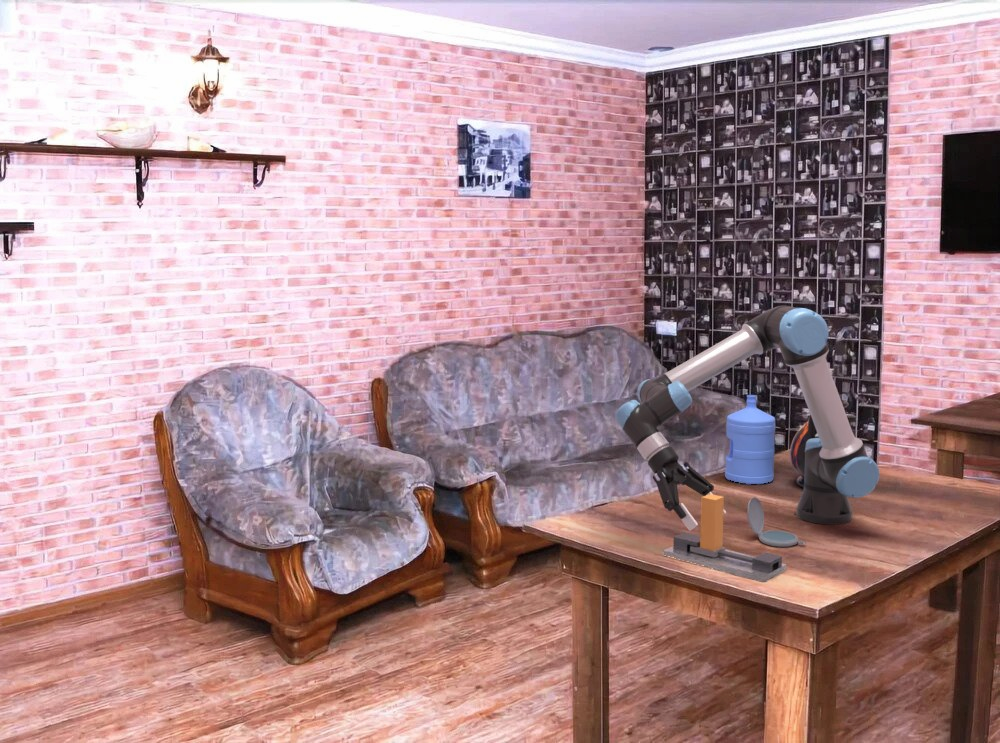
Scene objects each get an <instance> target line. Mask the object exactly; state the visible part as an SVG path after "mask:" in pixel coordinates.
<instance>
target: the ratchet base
mask: <svg viewBox="0 0 1000 743" xmlns="http://www.w3.org/2000/svg"><path fill="white" fill-rule="evenodd" d="M672 543H673V544H672V545H673V546H670V547H667V548H665V549H664V550H663V554H662V555H666V556H670V557H674V558H676V559H675V560H677V559H680V560H679V561H681V560H684V561H683V562H685V561H689V562H692V563H696V564H699V565H698V566H700V565H704V566H707V567H706V568H708V567H710V568H709V569H711V568H713V569H712V570H715V569H716V570H715V571H719V570H720V572H723V571H724V573H726V574H727V573H728V574H731V575H735V576H739V577H742V578H747V579H751V580H754V581H759V582H762V583H765V582H767V581H769V580H770V579H772V578H774V577H776V576H778V575H780V574H781V573H784V572H786V571H787V564H786V563H783V556H781V555H778V554H773V553H770V552H769V553H768V552H766V551H765V552H763V553H761V554H759V555H757V556H753V555H749V554H745V553H741V552H737V551H734V550H729V549H725V551H728V552H732V553H736V554H740V555H744V556H748V557H752V558H753V559H752V563H750V562H746V561H742V560H738V559H734V558H730V557H726V556H722V555H719V556H717V557H711V556H707V555H703V554H699V553H695V552H691V551H690V546H692V545H693V546H697V547H698V546H700V535H696V534H693V533H689V532H688V533H687V532H682V533H680V534H677V535H675V536H673V542H672ZM692 563H691V564H692ZM696 564H695V565H696ZM704 566H703V567H704Z"/></svg>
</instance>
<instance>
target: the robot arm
mask: <svg viewBox="0 0 1000 743" xmlns="http://www.w3.org/2000/svg"><path fill="white" fill-rule="evenodd" d="M829 334H830V333H829V327H828V324H827V322H826V320H825V319H824V318H823V316H821V315H820V314H819V313H817V312H816V311H813V310H811V309H808V308H805V307H804V308H803V307H794V306H791V305H778V306H775V307H772V308H770V309H768V310H766V311H764V312H762V313H760V314H759V315H757V316H755V317H753V318H752V319H751V320H749V321H747V322H745V323H743V324H742V326H741V329H740V330H739V331H737V332H734V333H733V334H732V335H730V336H728V337H726V338H724V339H723V340H721V341H719V342H718V343H716V344H714V345H712V346H711V347H709V348H707V349H705V350H703V351H702V352H700V353H698V354H697V355H695V356H693V357H691V358H690V359H688V360H687V361H684V362H683V363H680V364H679V365H677V366H676V367H673V368H672V369H670V370H669V371H666V372H665V373H663V374H662V375H659V376H658V377H655V378H654V379H653V378H650V379H645V380H643V381H641V383H639V385H638V387H637V392H636V393H637V394H636V395H637V398H638V400H636V399H631V400H630V401H627V402H625V403H624V404H622V405H621V406H620V407H619V408H618V409H617V410H616V412H615V414H614V418H615V421H616V422H617V423H618V424H619V426H620V428H621V429H622V431H623V433H624V434H625V435H626V436H627V438H628V439H629V440H630V441H631V443H632V444H633V446H634V447H635V448H636V450H637V451H638V452H639V454H640V455H641V457H642V458H643V459H644V461H646V462H647V465H648V467H649V468H650V469H651V471H652V472H653V473H654V475H653V476H652V479H653V480H654V482H655V483H656V486H657V489H658V491H659V492H658V493H659V495H660V499H661V501H662V504H663V507H664V508H665V509H667V510H668V511H669V512H672V511H674V512H675V513H676V515H677V516H678V518H679V519H680V521H682V523H683V524H684V526H685V527H686V528H687V529H688V531H689V532H691V531H692V530H694V529H695V528H696V527H697V526H699V524H698V522H697V520H695V518H694V516H693V515H692V513H690V512H689V510H688V508H687V507H686V505H685V504H684V503H683V502H681V503H680V498H679V497H680V496H679V491H678V490H679V489H678V485H682V486H687V487H689V488H690V489H691V490H693V491H695V492H696V493H699V495H701V496H702V497H703V496H706V495H709V494H712V495H714V494H713V491H714V490H715V489H714V488H715V486H714V484H712V483H711V482H710V481H709V480H707V478H705V477H704V476H702V475H701V474H700V473H699V472H698V471H696V470H695V469H694V468H693V467H692V466H691V465H690V464H689V463H688V462H687V461H684V462H683V464H680V463H679V462H678V460H679V457H680V456H679V455H678V453H677V452H676V451H675V449H674V448H673V447H672V446H670V443H669V441H668V440H667V438H665V436H664V435H663V433H662V432H661V431H660V430H659V427H660V426H662V425H664V424H665V423H667V422H668V421H670V420H672V419H673V418H675V417H676V416H678V415H680V414H681V413H683V412H684V411H685V410H686V409H687V408H689V407H690V406H691V405H692V404H693V398H692V396H691V394H690V391H692V390H693V389H695V388H697V387H698V386H701V385H702V384H704V383H705V382H707V381H709V380H712V379H713V378H714V377H717V376H718V375H720V374H721V373H724V372H725V371H727V370H729V369H731V368H732V367H734V366H736V365H737V364H740V363H741V362H742V361H744V360H746V359H748V358H750V357H752V356H753V355H755V354H757V355H759V356H760V355H762V354H765V353H766V352H769V351H770V350H771V351H772V350H774V349H779V350H780V353H781V355H782V358H783V361H784V363H785V365H786V366H787V367H790V368H792V369H793V371H794V374H795V377H796V379H797V381H798V385H799V387H800V390H801V392H802V395H803V399H804V400H805V404H806V403H807V404H806V406H807V408H808V411H809V413H810V414H811V417H812V420H813V422H814V425H815V428H816V430H817V433H818V436H819V438H812V439H809V440H808V441H807V442H806V448H805V472H804V488H803V490H802V493H801V495H800V498H799V501H798V504H797V506H796V514H795V515H796V517H798V518H799V519H801V520H803V521H806V522H809V523H815V524H821V525H822V524H823V525H842V524H846V523H849V522H851V521H852V520H853V510H852V507H851V504H850V499H849V498H853V499H855V498H856V499H858V498H862V497H866V496H868V495H869V494H870V493H872V492H873V491H874V489H875V488H876V486H877V484H878V482H879V480H880V468H879V466H878V464H877V462H875V461H874V459H873V458H871V457H869V456H868V454H867V451H866V449H865V446H864V443H863V441H862V439H859V438H858V437H857V436H856V437H854V435H855V434H854V435H853V433H854V431H853V430H852V426H851V424H850V422H849V419H848V417H847V416H848V415H847V413H846V410H845V408H843V405H842V402H841V400H842V399H841V397H840V393H839V392H838V391H839V390H838V388H837V386H836V384H835V380H834V377H833V375H832V373H831V369H830V367H829V364H828V361H827V359H826V357H827V355H828V353H829V351H830V350H829V347H828V343H827V341H828V340H829ZM638 401H640V402H638ZM810 414H809V415H810ZM725 514H727V511H726V509H724V511H723V516H724V515H725Z"/></svg>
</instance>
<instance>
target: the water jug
mask: <svg viewBox="0 0 1000 743" xmlns="http://www.w3.org/2000/svg"><path fill="white" fill-rule="evenodd" d="M725 428H726V438H728V439H729V451H728V452H729V453H728V454H727V455H726V456H725V470H724V476H725V478H726V479H727V480H728V481H730V480H731V481H730V482H732V481H734V482H733V483H735V482H739V483H738V484H740V483H746V484H745V485H751V484H757V485H765V484H764V483H766V484H769V483H771V482H772V481H773V480H774V477H775V473H774V469H775V468H774V465H775V464H774V462H775V460H774V459H775V438H776V436H775V434H776V418H775V417H774V416H773V415H771V414H769V413H767V412H765V411H763V410H761V409H759V408H757V395H755V394H747V395H746V406H745V408H742V409H740V410H738V411H735V412H733V413H731V414H729V415H727V417H726V427H725ZM768 482H769V483H768Z"/></svg>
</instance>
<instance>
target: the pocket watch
mask: <svg viewBox="0 0 1000 743" xmlns="http://www.w3.org/2000/svg"><path fill="white" fill-rule="evenodd" d="M746 510H747V511H746V512H747V520H748V524H749V527H750V529H751V530H752V532H753V533H755V534H757V536H758V538H759V541H760V542H761V543H763V544H765V545H768V546H771V547H776V548H777V547H779V548H787V547H793V546H795V545H797V544H798V545H802V546H803V545H806V542H805V541H802V540H799V538H798V537H797V535H796V534H795V533H792V532H788V531H784V530H765V531H763V530H764V526H765V514H764V509H763V505H762V503H761V501H760V499H759V498H757V497H756V496H754V497H751V499H749V501H748V503H747V508H746Z"/></svg>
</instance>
